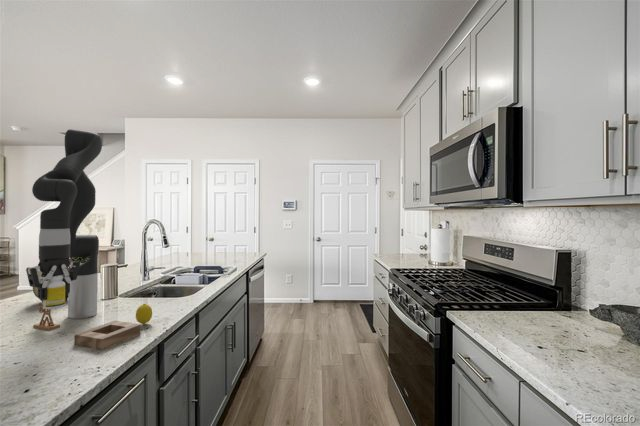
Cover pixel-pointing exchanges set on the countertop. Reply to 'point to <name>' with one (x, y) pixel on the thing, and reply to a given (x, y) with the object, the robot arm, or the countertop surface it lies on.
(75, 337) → the block
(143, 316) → the lemon
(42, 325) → the brown figurine
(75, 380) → the countertop surface
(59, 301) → the supplement bottle
